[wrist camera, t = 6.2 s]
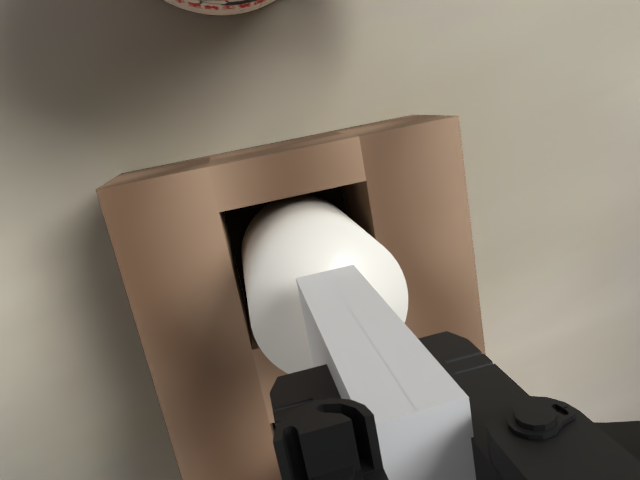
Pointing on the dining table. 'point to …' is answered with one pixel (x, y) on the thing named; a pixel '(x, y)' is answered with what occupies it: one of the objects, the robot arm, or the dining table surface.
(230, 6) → the teacup with lid
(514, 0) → the dining table surface
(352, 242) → the white egg
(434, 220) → the wooden egg holder
